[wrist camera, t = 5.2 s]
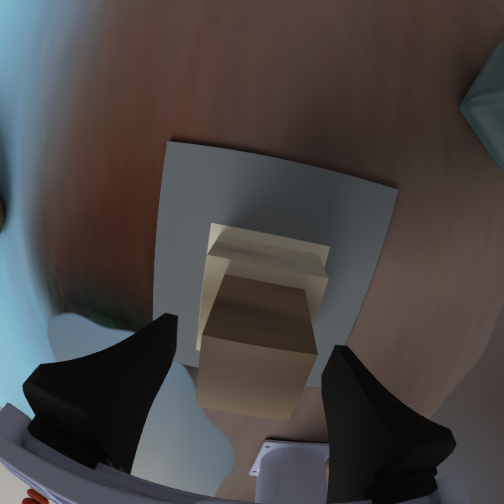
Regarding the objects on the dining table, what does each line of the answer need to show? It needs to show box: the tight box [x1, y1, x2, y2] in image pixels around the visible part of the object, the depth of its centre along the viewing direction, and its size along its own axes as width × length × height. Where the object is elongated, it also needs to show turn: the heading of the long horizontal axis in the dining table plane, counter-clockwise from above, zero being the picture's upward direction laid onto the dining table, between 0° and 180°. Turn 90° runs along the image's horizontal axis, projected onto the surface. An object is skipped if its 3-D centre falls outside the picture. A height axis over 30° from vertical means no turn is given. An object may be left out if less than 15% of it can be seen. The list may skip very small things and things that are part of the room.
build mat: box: [153, 141, 398, 387], centre depth 18 cm, size 16×14×1 cm
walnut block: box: [195, 274, 318, 421], centre depth 12 cm, size 4×4×5 cm
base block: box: [196, 234, 329, 351], centre depth 16 cm, size 6×6×4 cm
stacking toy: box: [22, 487, 49, 504], centre depth 27 cm, size 8×8×19 cm
